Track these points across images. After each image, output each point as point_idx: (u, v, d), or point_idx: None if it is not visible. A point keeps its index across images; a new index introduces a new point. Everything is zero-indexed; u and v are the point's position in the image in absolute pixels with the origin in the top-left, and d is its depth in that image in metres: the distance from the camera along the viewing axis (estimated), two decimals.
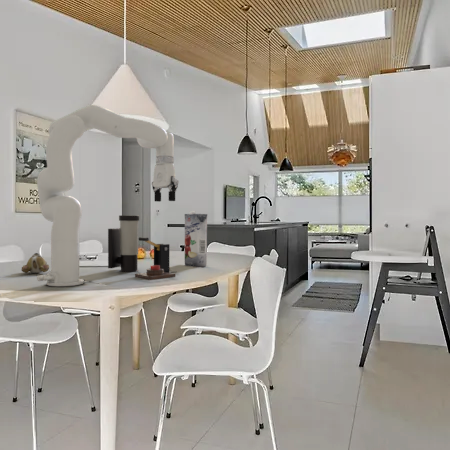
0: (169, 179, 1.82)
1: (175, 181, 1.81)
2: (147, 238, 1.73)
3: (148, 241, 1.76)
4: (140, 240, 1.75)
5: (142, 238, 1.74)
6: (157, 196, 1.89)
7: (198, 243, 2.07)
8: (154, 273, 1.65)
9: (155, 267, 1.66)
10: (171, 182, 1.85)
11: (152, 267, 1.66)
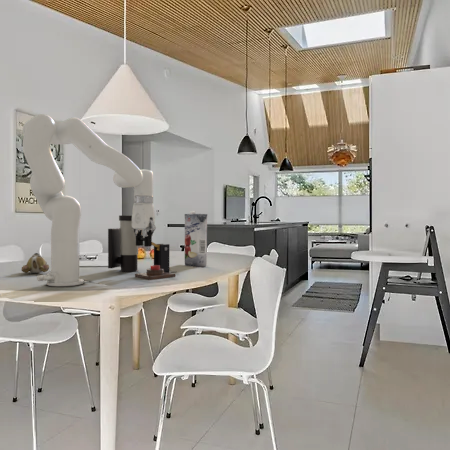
0: (148, 221, 1.70)
1: (152, 227, 1.69)
2: None
3: None
4: (140, 240, 1.75)
5: (142, 238, 1.74)
6: None
7: (198, 243, 2.07)
8: (154, 273, 1.65)
9: (155, 267, 1.66)
10: (150, 224, 1.73)
11: (152, 267, 1.66)
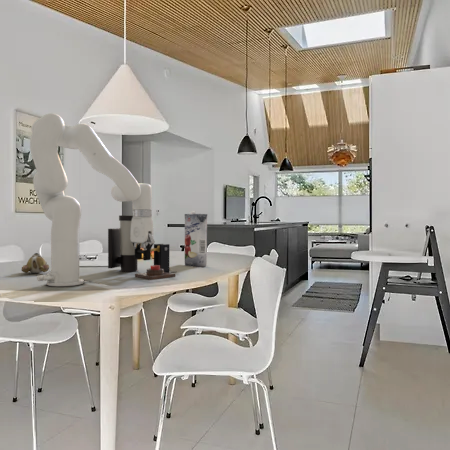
0: (146, 235, 1.69)
1: (151, 241, 1.69)
2: None
3: None
4: None
5: (140, 252, 1.73)
6: (137, 253, 1.76)
7: (198, 243, 2.07)
8: (154, 273, 1.65)
9: (155, 267, 1.66)
10: None
11: (152, 267, 1.66)
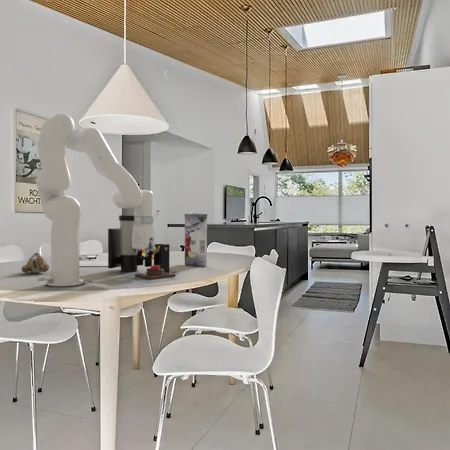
0: (148, 241, 1.70)
1: (152, 248, 1.70)
2: None
3: None
4: None
5: (141, 258, 1.74)
6: (139, 260, 1.76)
7: (198, 243, 2.07)
8: (154, 273, 1.65)
9: (155, 267, 1.66)
10: None
11: (152, 267, 1.66)
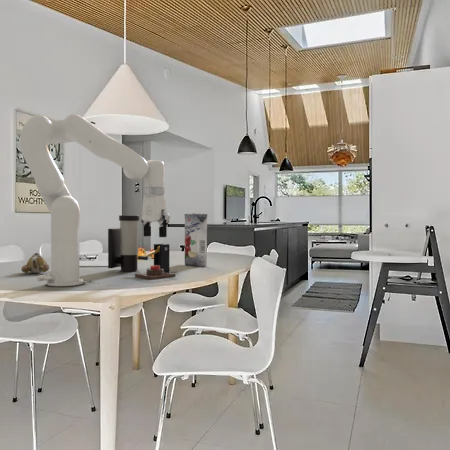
0: (159, 213, 1.63)
1: (166, 216, 1.62)
2: (146, 257, 1.73)
3: (147, 256, 1.76)
4: None
5: (141, 258, 1.74)
6: (146, 230, 1.71)
7: (198, 243, 2.07)
8: (154, 273, 1.65)
9: (155, 267, 1.66)
10: (162, 216, 1.66)
11: (152, 267, 1.66)
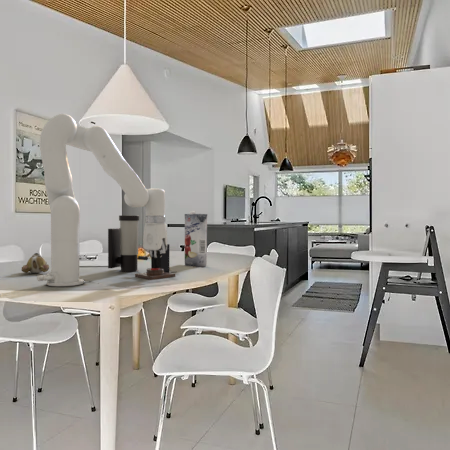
0: (160, 242, 1.63)
1: (162, 251, 1.64)
2: (146, 257, 1.73)
3: (147, 256, 1.76)
4: None
5: (141, 258, 1.74)
6: None
7: (198, 243, 2.07)
8: (154, 273, 1.65)
9: (155, 269, 1.66)
10: None
11: (152, 269, 1.66)
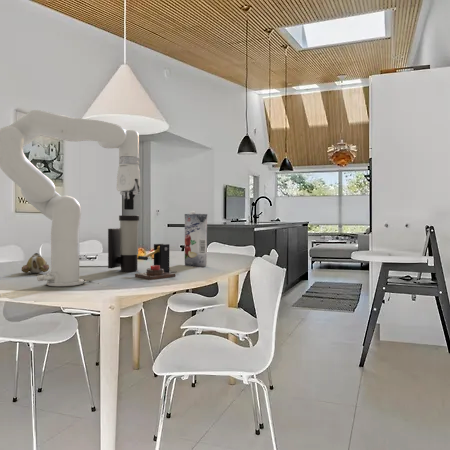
0: (133, 182, 1.64)
1: (134, 191, 1.65)
2: (146, 257, 1.73)
3: (147, 256, 1.76)
4: None
5: (141, 258, 1.74)
6: None
7: (198, 243, 2.07)
8: (154, 273, 1.65)
9: (155, 267, 1.66)
10: None
11: (152, 267, 1.66)
